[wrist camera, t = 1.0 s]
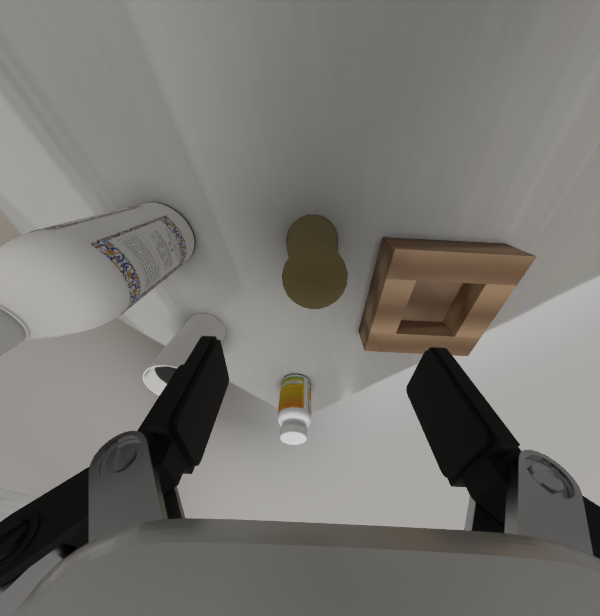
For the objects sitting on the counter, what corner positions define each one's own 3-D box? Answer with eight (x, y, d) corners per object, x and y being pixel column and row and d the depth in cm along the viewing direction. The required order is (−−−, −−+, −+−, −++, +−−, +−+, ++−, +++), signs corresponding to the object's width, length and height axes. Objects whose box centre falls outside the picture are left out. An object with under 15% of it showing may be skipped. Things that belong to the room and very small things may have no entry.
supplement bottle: (275, 382, 40) (267, 438, 32) (295, 368, 37) (292, 425, 29) (296, 395, 42) (294, 450, 34) (316, 382, 39) (319, 439, 31)
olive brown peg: (346, 252, 25) (368, 301, 16) (302, 274, 27) (300, 330, 18) (323, 203, 23) (335, 230, 13) (276, 232, 24) (257, 273, 15)
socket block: (383, 237, 24) (395, 249, 21) (505, 243, 24) (536, 256, 21) (358, 331, 32) (364, 350, 29) (451, 336, 32) (467, 355, 29)
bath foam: (132, 248, 26) (-176, 399, 9) (134, 189, 22) (-361, 265, 6) (191, 271, 27) (14, 437, 11) (201, 220, 24) (-37, 350, 7)
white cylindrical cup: (190, 303, 30) (147, 356, 22) (235, 322, 32) (210, 378, 24) (180, 334, 34) (138, 390, 25) (221, 350, 35) (194, 407, 27)
